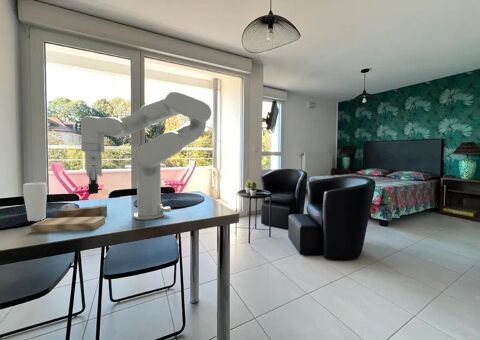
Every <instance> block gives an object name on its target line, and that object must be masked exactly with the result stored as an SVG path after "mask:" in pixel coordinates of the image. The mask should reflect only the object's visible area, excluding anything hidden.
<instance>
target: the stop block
mask: <svg viewBox="0 0 480 340" xmlns="http://www.w3.org/2000/svg"><path fill="white" fill-rule="evenodd" d="M74 208H76V204H75V203H72V202H71V203H67V204H64V205H61V209H64V210H65V209H74Z"/></svg>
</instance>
